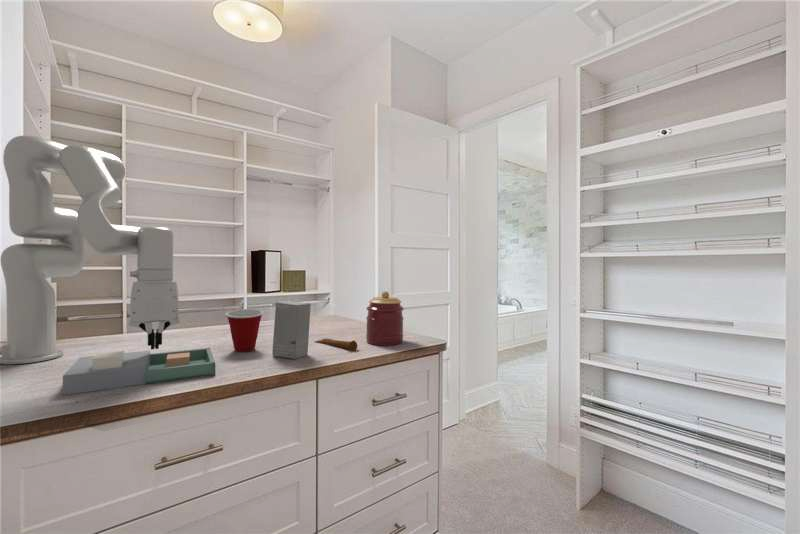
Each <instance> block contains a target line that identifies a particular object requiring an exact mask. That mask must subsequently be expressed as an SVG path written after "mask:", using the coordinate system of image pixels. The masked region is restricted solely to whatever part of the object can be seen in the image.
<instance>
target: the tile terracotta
mask: <svg viewBox="0 0 800 534" xmlns="http://www.w3.org/2000/svg"><path fill="white" fill-rule="evenodd" d="M183 365H190V352H188V353H178V354H168V355H167V359H166V367H175V366H183Z"/></svg>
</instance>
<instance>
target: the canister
mask: <svg viewBox="0 0 800 534" xmlns="http://www.w3.org/2000/svg"><path fill="white" fill-rule="evenodd" d="M389 293H390V292H388V291H382V293H381V296H375V297H372V299H369V301H368V303H369V305H368V306H367V307H366V310H367V316H366V317H365V318H366V334H365V339H366V342H367V343H368V344H370V345H375V346H395V345H399V344H402V343H403V339H404V319H405V318H404V317H403V311H404V309H405V308H404V307H403V306H402V305H401V303H402V301H401V299H399V298H398V297H395V296H394V297H393V296H390V294H389Z"/></svg>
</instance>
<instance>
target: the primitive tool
mask: <svg viewBox="0 0 800 534" xmlns="http://www.w3.org/2000/svg"><path fill="white" fill-rule="evenodd" d="M314 343H316V344H321V345H326V346H330V347H336V348H340V349H346V350H348V351H349V352H354V351H356V350H357V349H358V343H357V342H356V340H351V341H348V340H347V341H346V340H338V339H337V340H336V339H332V338H322V339H318V340H316V341H315V340H314Z"/></svg>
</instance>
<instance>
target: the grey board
mask: <svg viewBox="0 0 800 534" xmlns="http://www.w3.org/2000/svg"><path fill="white" fill-rule="evenodd" d="M150 354H151V350H142V351H131V352H124V363H123V365H122V367H119V368H110V369H101V370H93V366H92V359H93V358H94V356H95V355H90V356H81V357H79V358H78V359H77V360H76V361H75V362H74V363H73V364H72V365H71V366H70V367H69V369H67V370H66V371H65V373H63V375H62V395H63V396H64V395H66V396H67V395H73V394H79V393H86V392H87V393H89V392H93V391H94V392H95V391H102V390H109V389H118V388H125V387H131V386H139V385H147V384H146V370H149V366H150Z"/></svg>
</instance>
